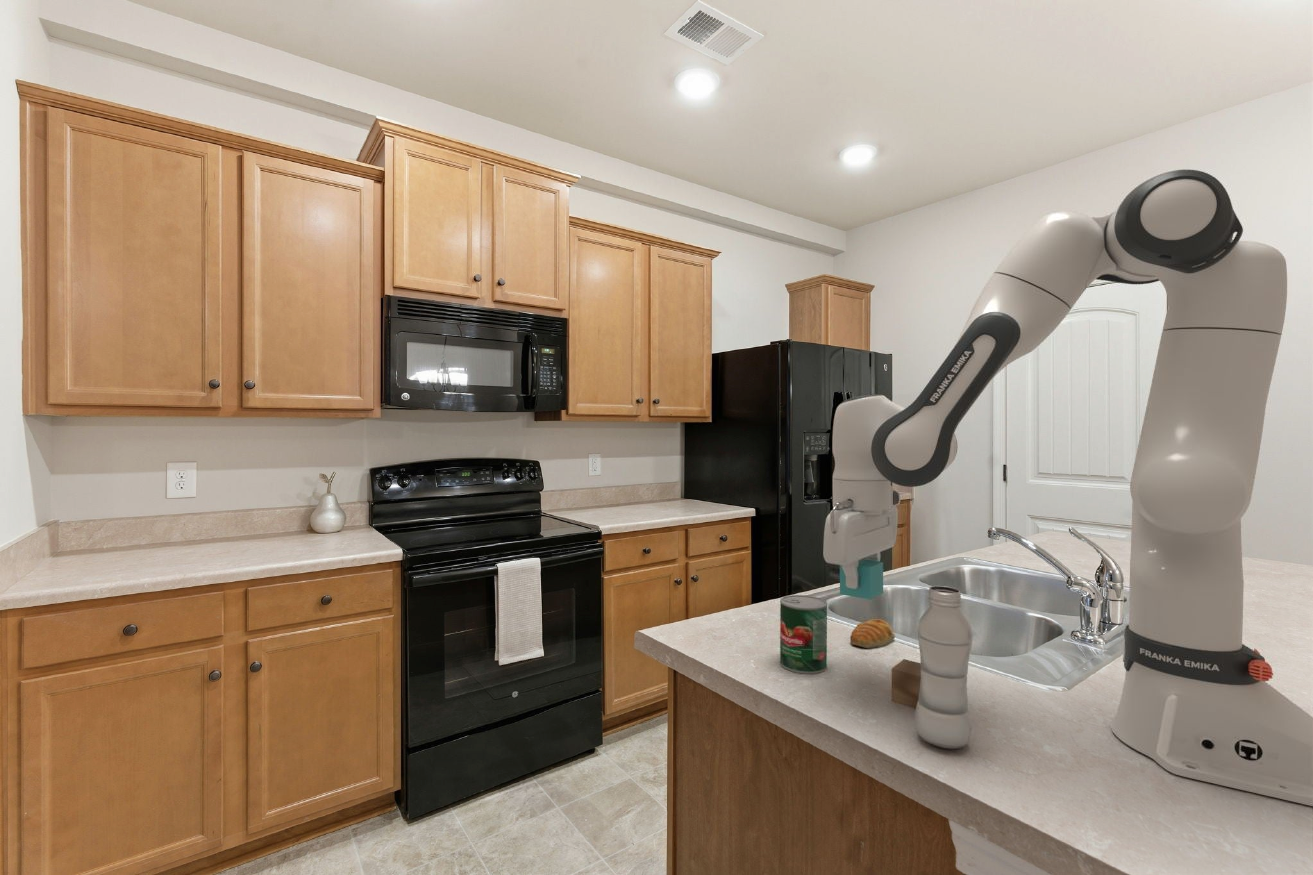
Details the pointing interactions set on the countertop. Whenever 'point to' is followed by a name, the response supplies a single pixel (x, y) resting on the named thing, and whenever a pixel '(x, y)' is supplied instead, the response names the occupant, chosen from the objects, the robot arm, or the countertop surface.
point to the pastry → (872, 634)
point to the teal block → (865, 580)
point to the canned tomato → (803, 634)
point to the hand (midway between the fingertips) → (861, 583)
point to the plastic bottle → (944, 670)
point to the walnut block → (906, 683)
